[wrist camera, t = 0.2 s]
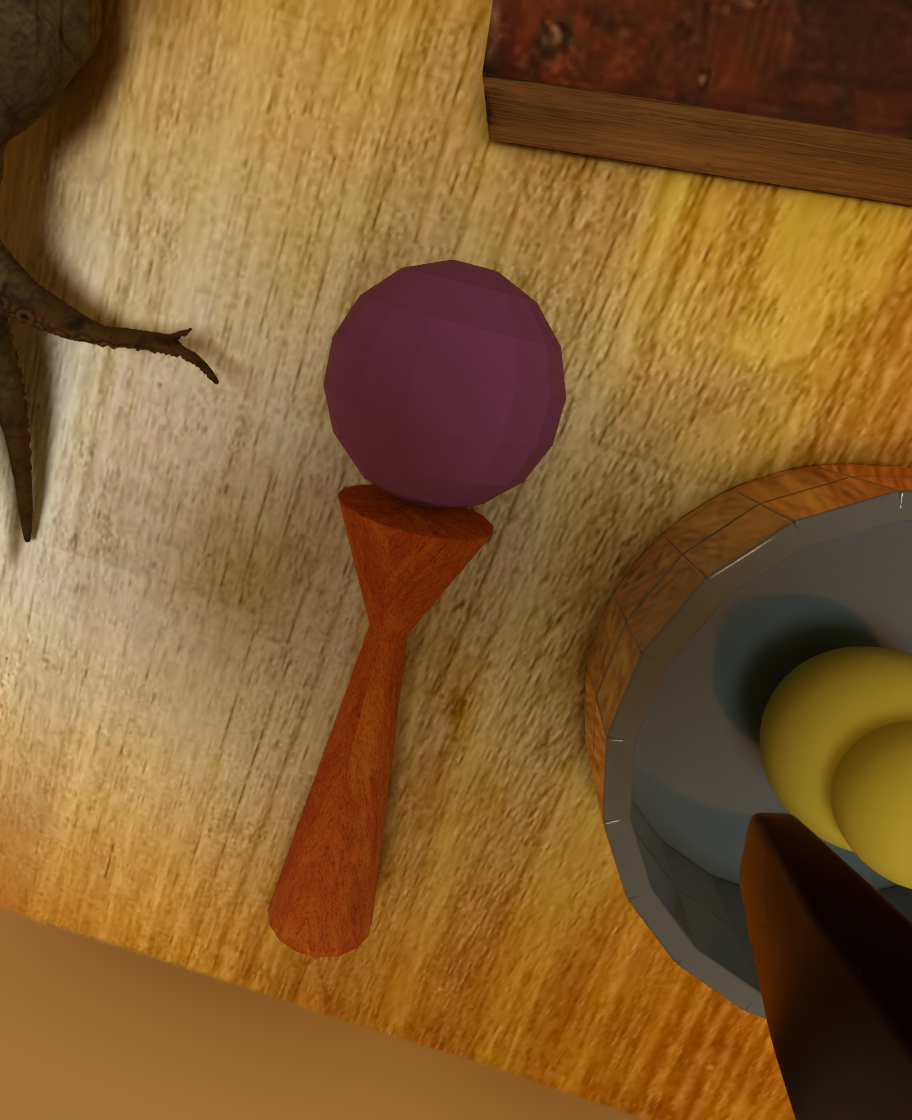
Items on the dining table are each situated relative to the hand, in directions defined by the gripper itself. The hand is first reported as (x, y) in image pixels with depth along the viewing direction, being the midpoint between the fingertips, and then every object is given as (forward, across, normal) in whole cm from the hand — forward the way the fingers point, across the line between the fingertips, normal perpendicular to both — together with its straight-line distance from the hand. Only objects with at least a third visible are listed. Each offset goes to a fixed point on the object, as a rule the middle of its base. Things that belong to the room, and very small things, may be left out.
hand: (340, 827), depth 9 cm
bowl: (+14, -12, +8) cm, 20 cm away
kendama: (+15, +1, +6) cm, 16 cm away
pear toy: (+13, -12, +8) cm, 19 cm away
